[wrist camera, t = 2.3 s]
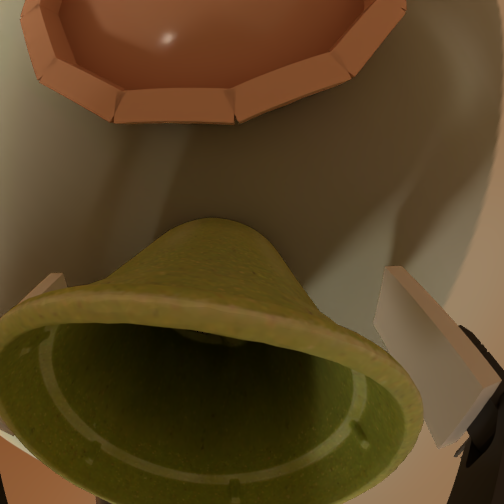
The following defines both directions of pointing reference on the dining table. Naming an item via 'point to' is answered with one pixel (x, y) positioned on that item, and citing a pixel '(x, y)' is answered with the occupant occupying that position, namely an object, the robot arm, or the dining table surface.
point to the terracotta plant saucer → (200, 53)
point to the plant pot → (203, 381)
